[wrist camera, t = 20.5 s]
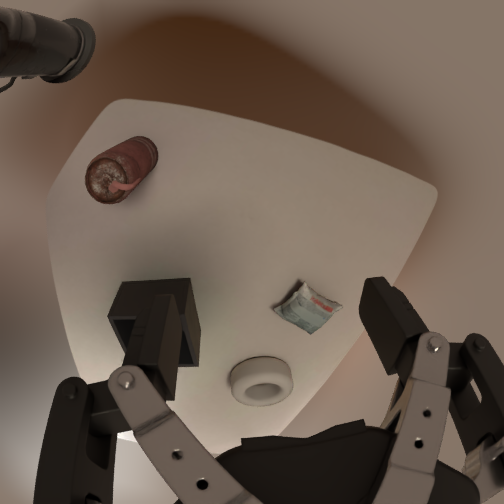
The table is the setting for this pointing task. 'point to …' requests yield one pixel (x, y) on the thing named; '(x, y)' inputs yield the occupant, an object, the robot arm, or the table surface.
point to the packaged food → (307, 309)
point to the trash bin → (141, 296)
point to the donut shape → (261, 381)
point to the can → (120, 169)
